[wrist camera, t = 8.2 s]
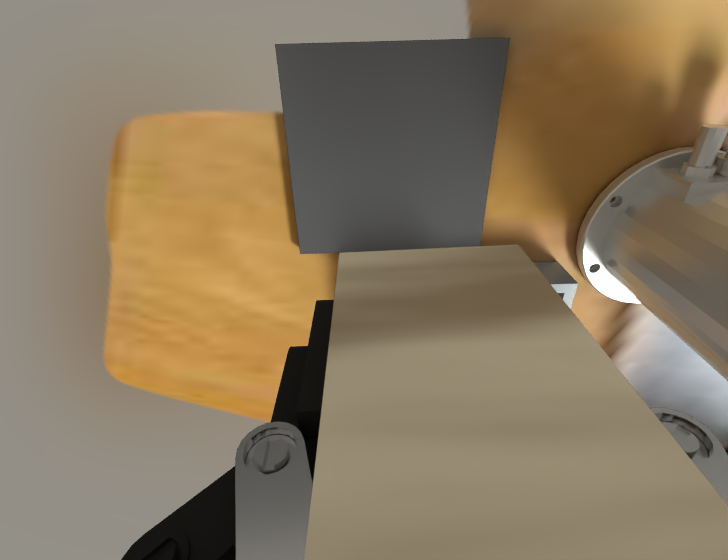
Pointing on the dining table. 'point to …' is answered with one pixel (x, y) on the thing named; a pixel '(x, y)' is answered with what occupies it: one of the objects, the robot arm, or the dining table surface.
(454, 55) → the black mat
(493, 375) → the birch box
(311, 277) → the dining table surface
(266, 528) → the robot arm
